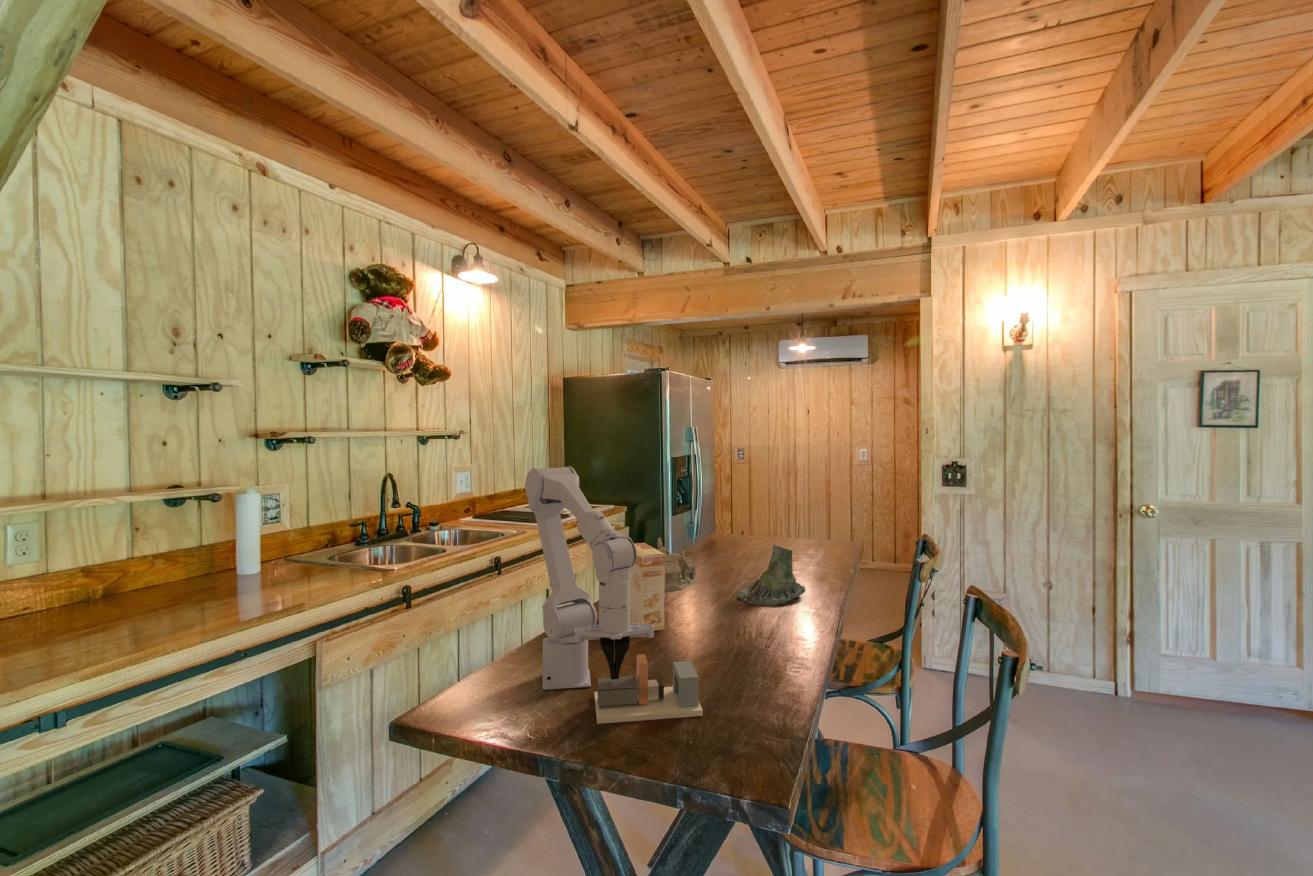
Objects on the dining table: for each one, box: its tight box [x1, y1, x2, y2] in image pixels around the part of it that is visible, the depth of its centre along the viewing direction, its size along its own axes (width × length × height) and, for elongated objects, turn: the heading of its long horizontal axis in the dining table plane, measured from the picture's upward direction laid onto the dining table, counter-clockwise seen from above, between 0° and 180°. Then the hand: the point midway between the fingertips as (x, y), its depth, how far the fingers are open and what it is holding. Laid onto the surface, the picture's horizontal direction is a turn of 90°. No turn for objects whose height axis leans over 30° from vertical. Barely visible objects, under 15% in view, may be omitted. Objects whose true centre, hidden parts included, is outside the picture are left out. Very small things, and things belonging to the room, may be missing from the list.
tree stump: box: [737, 544, 807, 607], centre depth 177 cm, size 18×20×18 cm
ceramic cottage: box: [656, 537, 698, 592], centre depth 190 cm, size 16×16×15 cm
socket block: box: [672, 660, 700, 708], centre depth 110 cm, size 4×7×6 cm, turn 9°
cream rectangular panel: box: [593, 675, 704, 725], centre depth 109 cm, size 19×10×5 cm, turn 99°
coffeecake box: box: [630, 542, 666, 632], centre depth 154 cm, size 15×7×20 cm, turn 22°
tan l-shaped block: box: [607, 653, 665, 705], centre depth 108 cm, size 12×4×8 cm, turn 99°
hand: (614, 677), depth 108 cm, fingers closed
